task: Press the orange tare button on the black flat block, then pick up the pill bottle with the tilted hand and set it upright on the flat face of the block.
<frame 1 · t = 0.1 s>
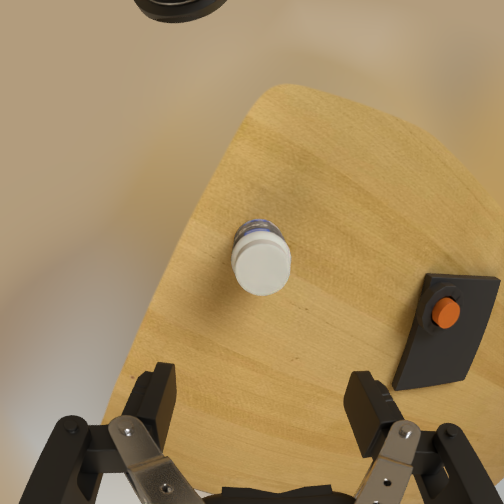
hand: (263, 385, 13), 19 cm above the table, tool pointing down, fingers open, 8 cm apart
black flat block: (447, 332, 34), on the table
pill bottle: (258, 241, 30), on the table
tare button: (445, 313, 29), point 3 cm above the table, slide at 0.1 cm
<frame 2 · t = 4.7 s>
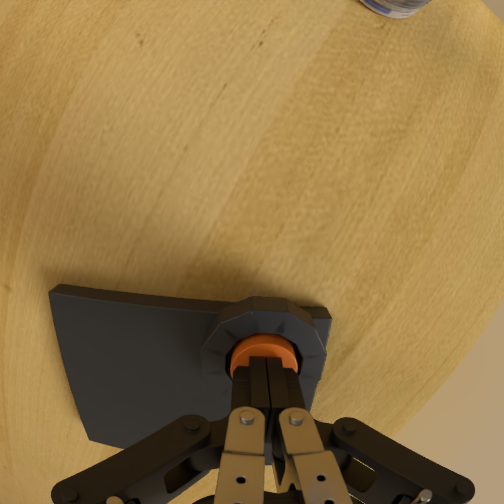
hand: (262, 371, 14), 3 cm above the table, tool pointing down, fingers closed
black flat block: (184, 388, 18), on the table
tare button: (263, 362, 15), point 3 cm above the table, slide at -0.6 cm, touching gripper
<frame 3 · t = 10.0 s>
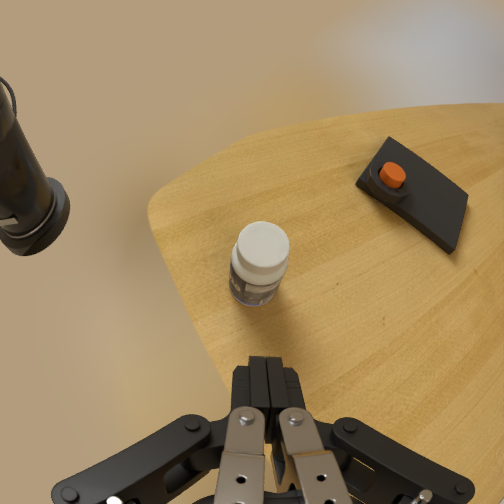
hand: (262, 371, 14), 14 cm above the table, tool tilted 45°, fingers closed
black flat block: (417, 192, 40), on the table
pill bottle: (252, 285, 31), on the table
tare button: (392, 175, 36), point 3 cm above the table, slide at 0.1 cm
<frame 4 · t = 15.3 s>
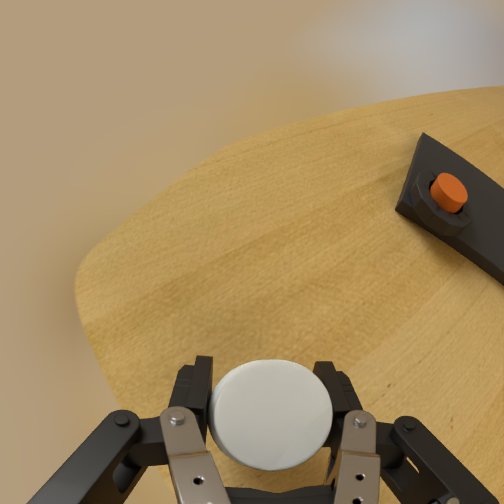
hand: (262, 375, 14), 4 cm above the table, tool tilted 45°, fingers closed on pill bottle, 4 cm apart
black flat block: (470, 210, 26), on the table
pill bottle: (253, 414, 16), on the table, touching gripper
tare button: (449, 192, 22), point 3 cm above the table, slide at 0.1 cm
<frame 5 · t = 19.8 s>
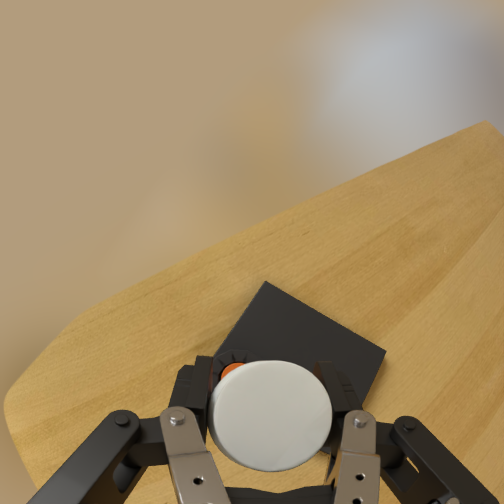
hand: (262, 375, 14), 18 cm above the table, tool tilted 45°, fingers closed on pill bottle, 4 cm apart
black flat block: (296, 370, 31), on the table
pill bottle: (253, 414, 16), point 14 cm above the table, touching gripper
tare button: (238, 380, 27), point 3 cm above the table, slide at 0.1 cm
when the fingers open (6 cm above the table, at t = 24.7 s): pill bottle stays where it is, resting on black flat block.
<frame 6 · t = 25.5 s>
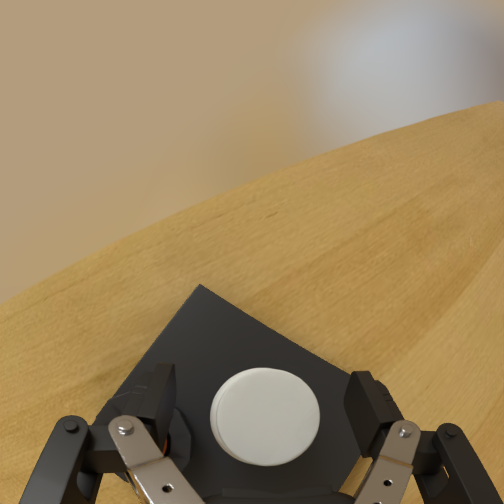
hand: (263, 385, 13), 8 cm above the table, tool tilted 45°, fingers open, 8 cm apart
black flat block: (243, 424, 18), on the table
pill bottle: (252, 415, 18), point 1 cm above the table, touching black flat block
tare button: (138, 440, 14), point 3 cm above the table, slide at 0.1 cm
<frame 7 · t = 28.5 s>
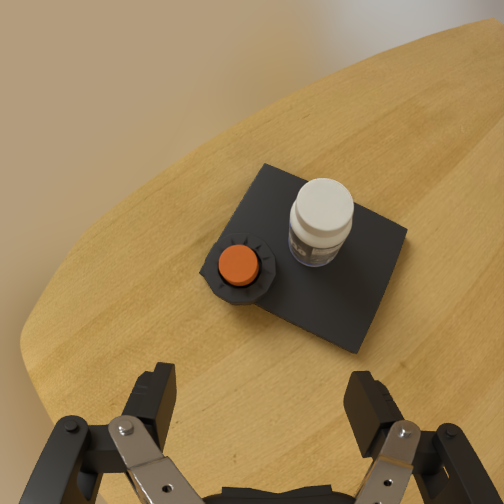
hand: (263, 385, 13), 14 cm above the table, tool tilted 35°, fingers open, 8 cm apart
black flat block: (308, 254, 29), on the table
pill bottle: (313, 243, 28), point 1 cm above the table, touching black flat block
tare button: (239, 265, 26), point 3 cm above the table, slide at 0.1 cm
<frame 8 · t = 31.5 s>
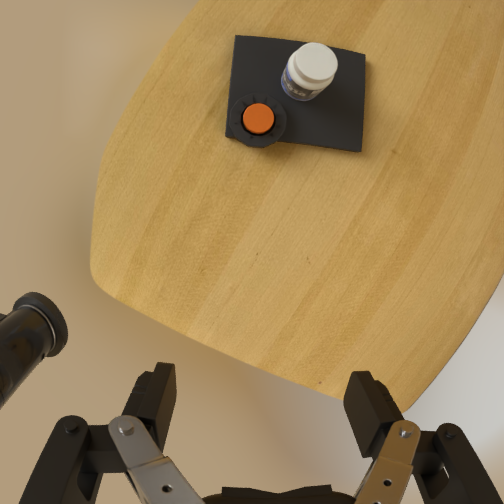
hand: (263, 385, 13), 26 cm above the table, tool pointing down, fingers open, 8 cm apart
black flat block: (297, 91, 33), on the table
pill bottle: (300, 83, 32), point 1 cm above the table, touching black flat block
tare button: (258, 118, 31), point 3 cm above the table, slide at 0.1 cm
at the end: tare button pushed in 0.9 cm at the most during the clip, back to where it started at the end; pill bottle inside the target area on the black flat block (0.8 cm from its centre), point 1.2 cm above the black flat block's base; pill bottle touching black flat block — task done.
